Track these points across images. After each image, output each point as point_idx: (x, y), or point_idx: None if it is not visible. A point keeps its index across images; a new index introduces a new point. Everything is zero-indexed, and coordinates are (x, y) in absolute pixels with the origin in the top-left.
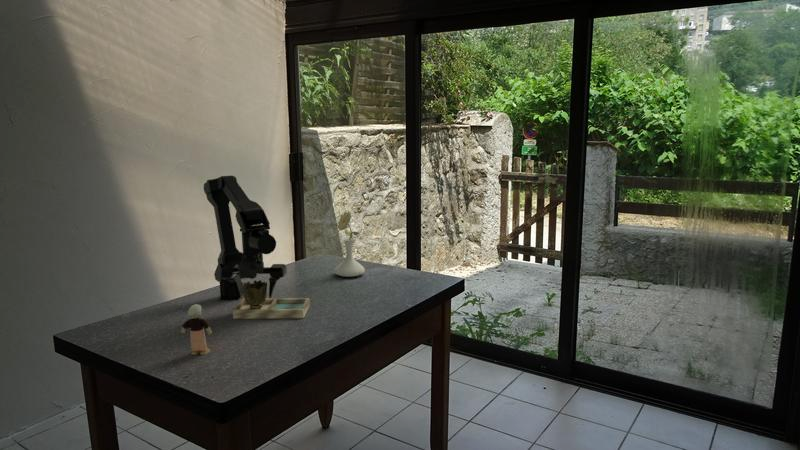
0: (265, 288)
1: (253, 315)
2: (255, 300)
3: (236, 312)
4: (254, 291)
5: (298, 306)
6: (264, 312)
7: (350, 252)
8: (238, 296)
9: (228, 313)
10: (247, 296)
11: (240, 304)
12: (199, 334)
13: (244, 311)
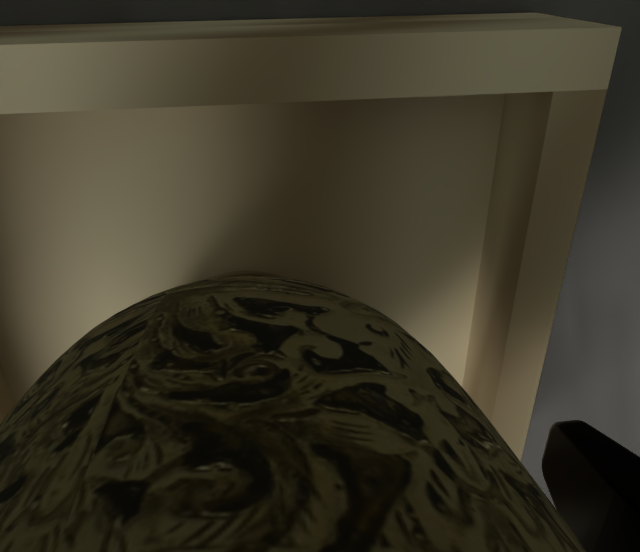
0: None
1: (173, 30)
2: (153, 311)
3: (524, 25)
4: (78, 513)
5: None
6: None
7: None
8: (616, 445)
9: (618, 241)
10: (387, 366)
11: (504, 357)
12: None
13: (361, 29)
